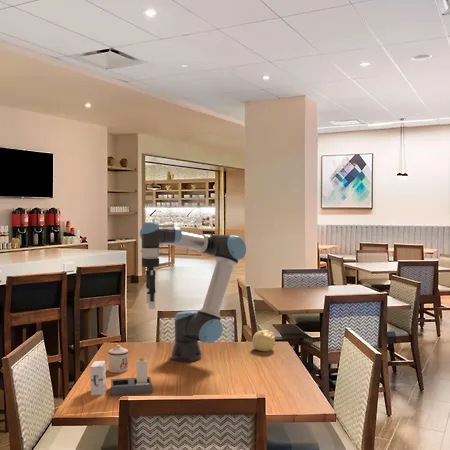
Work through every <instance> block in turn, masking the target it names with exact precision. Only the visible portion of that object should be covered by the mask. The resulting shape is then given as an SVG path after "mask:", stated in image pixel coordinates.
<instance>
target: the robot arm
mask: <svg viewBox="0 0 450 450" xmlns="http://www.w3.org/2000/svg"><path fill="white" fill-rule="evenodd" d="M139 238H140V239H141V250H140V253H141V256H142V258H141V267H142V268H146V270H145V278H146V279H145V288H146V289H145V290H146V291H145V292H146V294H145V296H146V297H145V298H146V302H145V303H146V304H148V310H156V270H154V269H155V268H158V267H159V266H160V244H163V245H168V246H174V247H178V248H179V247H180V248H185V249H189V250H195V251H196V252H197V253H201V254H204V255H205V254H206V255H208V256H212V257H214V259H215V262H216V263H215V266H214V269H213V273H212V276H211V279H210V282H209V286H208V289H207V292H206V296H205V299H204V302H203V305H202V308H201V309H199V310H185V311H178V312H177V313H176V314H174V343H173V347H172V350H171V356H170V357H171V359H172V361H177V362H187V363H188V362H195V361H199V360H201V359H202V356H203V355H202V354H203V353H202V349H201V347H200V344H199V343H200V342H202V343H204V344H205V343H206V344H214V343H215V342H216V341H218V340H220V337H221V335H222V334H223V330H224V329H223V328H224V327H223V324H222V322H221V321H222V317H221V314H220V312H221V309H222V306H223V303H224V302H223V301H224V299H225V295H226V292H227V288H228V287H229V286H228V285H229V283H230V279H231V276H232V272H233V268H234V267H236V266H237V265H238V262H239V261H240V260H242V259H243V258H244V257H245V256H246V252H247V245H246V242H245V240H244V238H243V237H241V236H240V235H234V234H207V233H206V234H205V233H200V234H199V235H198V234H197V233H196V234H195V233H191V232H185V231H182V229H181V228H180V226H175V225H169V226H168V225H165V226H164V225H160V223H159V222H158V221H157V222H154V221H151V222H143V223H142V224H141V228H140V231H139Z"/></svg>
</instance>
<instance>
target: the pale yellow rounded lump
mask: <svg viewBox="0 0 450 450" xmlns="http://www.w3.org/2000/svg"><path fill="white" fill-rule="evenodd" d="M275 344H276V338H275V333H274V332H272V331H271V330H268V329H263V330H262V329H261V330H258V331H256V332H255V333H254V335H253V337H252V346H253V348H254V349H255V350H256V351H259V352H260V351H262V352H270V351H272V350H273V348H274V347H275Z"/></svg>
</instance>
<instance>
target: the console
mask: <svg viewBox="0 0 450 450" xmlns="http://www.w3.org/2000/svg"><path fill="white" fill-rule="evenodd" d="M110 391H111V393H110V397H118V396H119V397H120V396H133V395H147V394H153V382H152V379H151V376H147V383H138V384H137V377H127V378H126V377H125V378H111V379H110Z"/></svg>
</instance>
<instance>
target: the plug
mask: <svg viewBox="0 0 450 450" xmlns="http://www.w3.org/2000/svg"><path fill="white" fill-rule="evenodd" d="M147 377H148V360H147V358H145V357H144V355H139V358H138V359H136V378H137V384H138V383H147Z"/></svg>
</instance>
